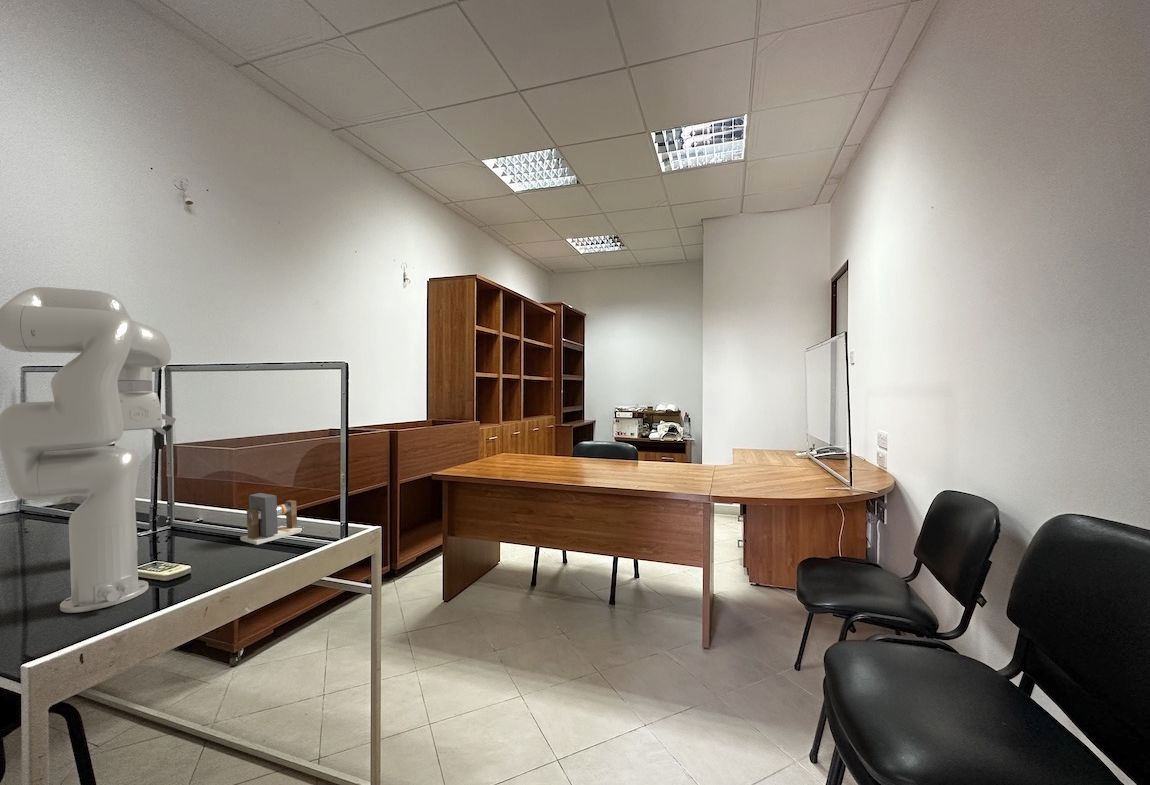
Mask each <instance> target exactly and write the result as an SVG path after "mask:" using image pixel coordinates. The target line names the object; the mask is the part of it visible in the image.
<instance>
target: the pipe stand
mask: <svg viewBox="0 0 1150 785" xmlns="http://www.w3.org/2000/svg"><path fill="white" fill-rule="evenodd" d="M297 510H298V509H297V500H292V499H290V500H286V501H285V503H284V504H283V503H282V504H279V505H278V504H277V517H279V516H284V515H285V520H286V524H285V525H287V526H283V525H280V526H279V525H278V534H274V535H271V536H267V537H266V536H262V535H259V522H258V521H259V520H261V510H257V509H246V524H247V526H246V528H247V529H246V530H247V535H241V536H240V541H242V542H245V543H249V544H253V545H256V546H257V545H262V544H264V543H268V542H272V541H275V540H278V539H282V538H285V537H288V536H292V535H293V536H294V535H295V534H300V533H302V532H301V531H302V528H295V527H296V525H297V526H298V516H297V514H298V513H297Z"/></svg>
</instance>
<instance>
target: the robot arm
mask: <svg viewBox="0 0 1150 785" xmlns="http://www.w3.org/2000/svg"><path fill="white" fill-rule="evenodd" d="M0 345H1V346H3V347H4V348H5V349H7V350H10V351H14V352H20V353H48V354H49V353H53V354H57V353H58V354H60V353H61V354H67V353H68V354H78V355H77V356H76V357H74V358H73V359H71V360H70V361H68V362H67V363H66V364H65V365H63V366H62V367H61V368H60V369H59V370H58V371H57V372H56V373H55V374H54V375H53V377H52V378H51V381H50V388H51V392H52V396H53V401H29V402H28V401H27V402H21V403H19V402H18V403H15V404H12V405H9V406H7V407H5V409H4V410H2V411H1V413H0V455H1V458H2V460H3V461H2V462H3V465H4V469H5V471H6V476H7V479H8V483H9V486H10V488H11V490H12V492H13V494H14V495H15V496H16V497H18V498H19V499H21V500H24V501H25V500H26V501H39V500H49V499H50V500H51V499H61V498H66V497H68V498H69V497H74V496H75V497H78V496H87V498H86V499H85V500H84V501H83V502H82V503H81V504H80V505H79V506H78V507H77V508H76V509H74V511H73V512H72V513H71V515H70V517H69V519H68V539H69V540H68V542H69V564H70V566H69V567H70V569H69V570H70V588H71V590H70V591H71V596H69V597H67V598H66V599H64V600H63V601H61V603H59V610H60V612H63V613H66V614H68V613H69V614H73V613H74V614H76V613H85V612H90V611H96V610H100V609H103V608H104V609H105V608H109V607H112V606H114V605H119V604H122V603H124V602H127V601H130V600H132V599H134V598H137V597H139V596H140V595H142V594H144V593H146V591H148V589H149V582H148V581H146V580H143V579H142V580H141V579H139V570H138V569H139V567H138V566H139V564H138V563H139V562H138V550H137V545H138V535H137V536H136V522H137V509H136V510H135V501H136V499H137V498H136V494H137V484H138V479H139V472H140V468H141V466H140V465H141V462H140V457H139V455H138V453H137V451H135V450H134V449H132V448H130V447H127V446H122V445H121V446H119V445H116V443H117V442H119V441H120V439H121V438H122V436H123V434H124V432H125V431H127V432H128V431H141V430H142V431H143V430H151V431H153V432H154V433H155V434H154V435H153V441H154V442H153V443H154V444H153V448H154V449H155V450H163V449H164V448H163V447H164V446H165V435H166V434H167V433H168V432H169V431H170V430H171V429H172V428H173V425H174V424H175V423H176V420H177V419H176V418H175V417H173V416H170V415H167V414H163V413H162V408H161V407H162V406H161V403H160V399H159V396H158V393H157V392H153V371H152V370H153V368H163V367H166V366H168V365H169V363H170V362H171V359H172V350H171V347H170V346H171V345H170V344H169V342H168V339H167V338H166V336H165V334H164V333H163V332H162V331H160V330H158V329H156V328H154V327H151V326H149V325H146V324H144V323H141V322H138V321H136V320H132V319H131V316H130V314H129V312H128V311H127V309H126V307H125V305H124V304H123V303H122V302H121V300H120V299H119V298H117V297H116V296H114V295H112V294H110V293H108V292H104V291H99V290H90V289H81V288H79V289H77V288H64V287H49V286H35V287H31V288H28V289H27V288H26V289H24V290H23V291H21V292H19V293H18V294H16V295H15V296H13V297H12V298H11V299H10V300H8V301H7V302H6V303H5V304H3V305H2V306H0ZM163 420H164V421H166V423H165V425H163Z"/></svg>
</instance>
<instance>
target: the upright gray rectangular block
mask: <svg viewBox="0 0 1150 785" xmlns="http://www.w3.org/2000/svg"><path fill="white" fill-rule="evenodd" d="M277 499H278V498H277V495H274V494H268V493H263V492H259V493H254V494H249V495H248V506H249V507H248V508H249V509H257V510H261V520H259V521H258V522H259V535H262V536H266V537H267V536H271V535H274V534H278V527H279V525H278V516H277V506H278V501H277Z"/></svg>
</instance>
